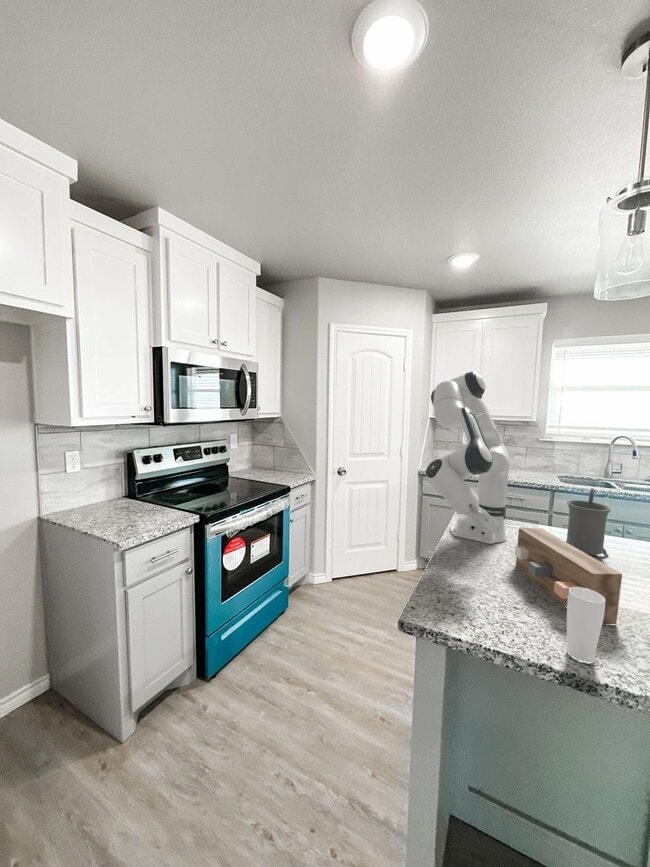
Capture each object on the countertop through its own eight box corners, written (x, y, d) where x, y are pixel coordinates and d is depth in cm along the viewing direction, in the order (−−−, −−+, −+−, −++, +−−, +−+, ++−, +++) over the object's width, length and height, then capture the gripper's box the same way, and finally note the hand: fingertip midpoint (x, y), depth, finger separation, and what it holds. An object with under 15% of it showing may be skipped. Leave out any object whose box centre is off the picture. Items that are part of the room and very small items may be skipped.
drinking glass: (588, 672, 78) (595, 605, 76) (555, 652, 84) (562, 590, 82) (604, 662, 81) (612, 598, 79) (572, 643, 87) (578, 584, 85)
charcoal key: (534, 576, 108) (535, 567, 108) (528, 571, 112) (528, 561, 112) (552, 577, 109) (553, 567, 108) (545, 571, 112) (546, 562, 112)
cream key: (520, 559, 120) (521, 550, 120) (514, 554, 124) (515, 546, 124) (536, 559, 121) (537, 550, 120) (530, 555, 124) (531, 546, 124)
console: (586, 625, 94) (592, 573, 93) (515, 566, 127) (519, 527, 126) (616, 625, 95) (622, 574, 93) (537, 566, 128) (541, 528, 126)
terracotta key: (562, 598, 96) (563, 588, 96) (553, 591, 100) (554, 581, 100) (582, 599, 97) (583, 588, 96) (573, 592, 100) (574, 581, 100)
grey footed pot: (605, 567, 129) (613, 499, 127) (556, 554, 139) (563, 490, 137) (609, 552, 143) (617, 490, 141) (565, 541, 153) (571, 483, 151)
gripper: (486, 503, 109) (515, 535, 110) (458, 487, 129) (483, 514, 131) (471, 518, 109) (500, 549, 110) (445, 499, 129) (470, 526, 131)
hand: (491, 530), depth 121 cm, fingers closed
